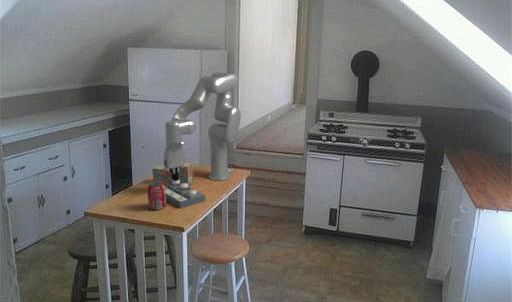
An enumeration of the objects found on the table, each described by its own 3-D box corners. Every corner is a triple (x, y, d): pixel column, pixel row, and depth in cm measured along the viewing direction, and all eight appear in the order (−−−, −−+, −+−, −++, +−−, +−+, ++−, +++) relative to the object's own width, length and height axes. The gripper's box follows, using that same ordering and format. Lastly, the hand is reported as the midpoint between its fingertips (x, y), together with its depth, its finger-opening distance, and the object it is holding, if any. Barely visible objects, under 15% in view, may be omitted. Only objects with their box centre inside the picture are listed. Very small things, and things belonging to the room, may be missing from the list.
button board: (181, 188, 212) (180, 180, 211) (205, 201, 195) (205, 192, 194) (157, 194, 203) (156, 186, 202) (180, 208, 186) (180, 199, 185)
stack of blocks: (153, 184, 219) (151, 163, 216) (158, 180, 225) (157, 160, 221) (188, 188, 213) (187, 166, 210) (193, 184, 219) (192, 163, 216)
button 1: (177, 182, 207) (177, 178, 207) (181, 184, 205) (181, 180, 204) (170, 183, 205) (170, 180, 204) (174, 185, 202) (174, 182, 201)
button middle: (185, 186, 202) (185, 182, 201) (189, 188, 199) (189, 184, 198) (178, 187, 199) (178, 184, 199) (182, 190, 196) (182, 186, 196)
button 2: (193, 193, 196) (193, 189, 196) (198, 195, 193) (198, 191, 193) (187, 195, 194) (186, 191, 193) (191, 197, 191) (191, 193, 190)
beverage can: (159, 202, 192) (157, 179, 189) (169, 207, 188) (168, 183, 185) (145, 207, 186) (143, 183, 183) (155, 212, 182) (154, 187, 179)
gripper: (182, 142, 207) (184, 175, 212) (156, 146, 197) (158, 181, 202) (190, 144, 202) (191, 178, 206) (164, 149, 192) (166, 185, 197)
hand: (175, 180), depth 204 cm, fingers closed
